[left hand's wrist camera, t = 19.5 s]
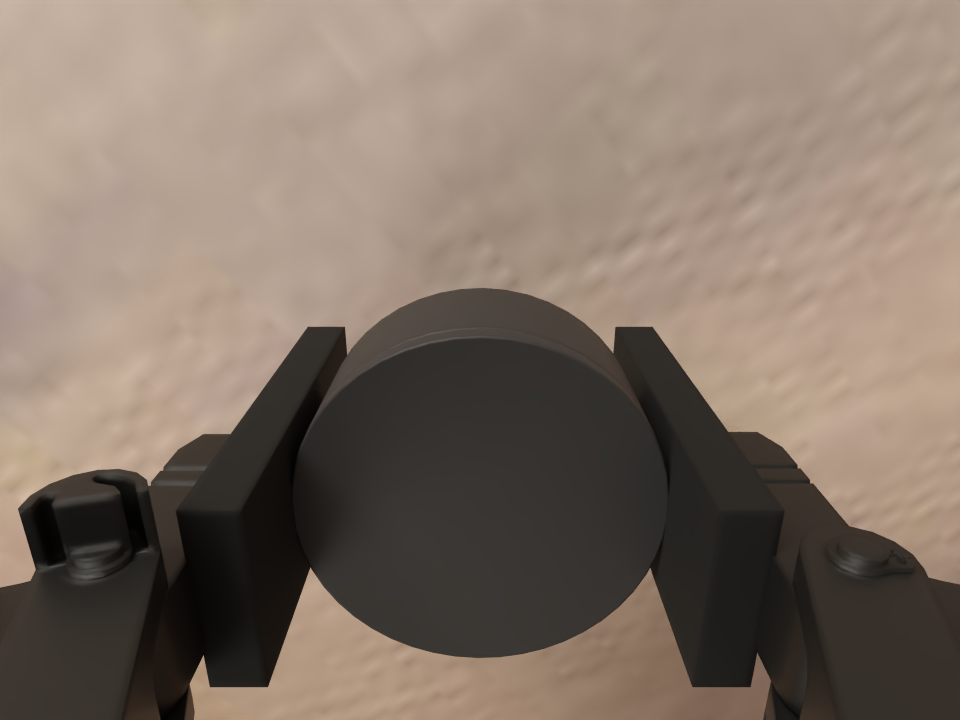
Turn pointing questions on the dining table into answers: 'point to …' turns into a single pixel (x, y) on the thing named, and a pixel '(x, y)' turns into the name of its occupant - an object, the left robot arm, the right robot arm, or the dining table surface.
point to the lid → (480, 477)
